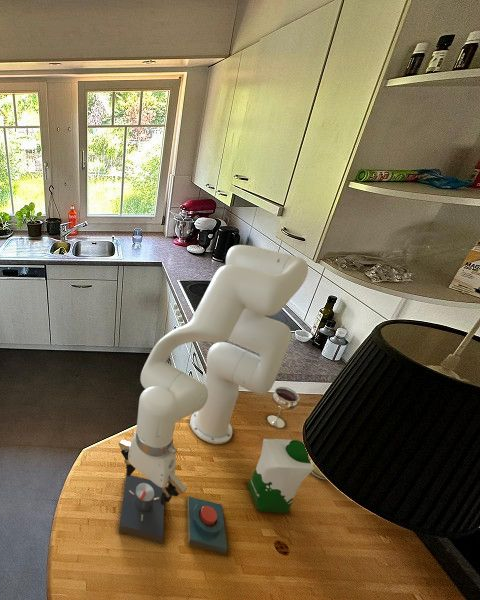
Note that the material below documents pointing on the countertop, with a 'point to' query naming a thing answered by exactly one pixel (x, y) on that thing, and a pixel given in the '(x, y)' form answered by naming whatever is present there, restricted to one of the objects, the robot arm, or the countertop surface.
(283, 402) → the wineglass
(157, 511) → the plate
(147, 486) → the rotary knob
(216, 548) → the teal button housing
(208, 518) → the button
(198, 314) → the robot arm
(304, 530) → the countertop surface
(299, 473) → the milk carton
